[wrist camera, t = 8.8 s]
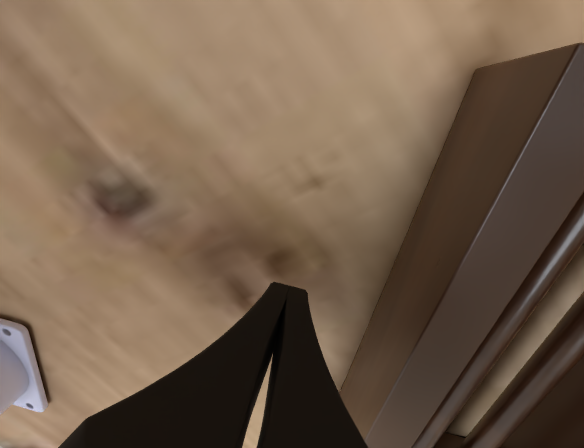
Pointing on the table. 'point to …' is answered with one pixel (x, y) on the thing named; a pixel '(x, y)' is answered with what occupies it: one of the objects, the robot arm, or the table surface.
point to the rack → (485, 272)
